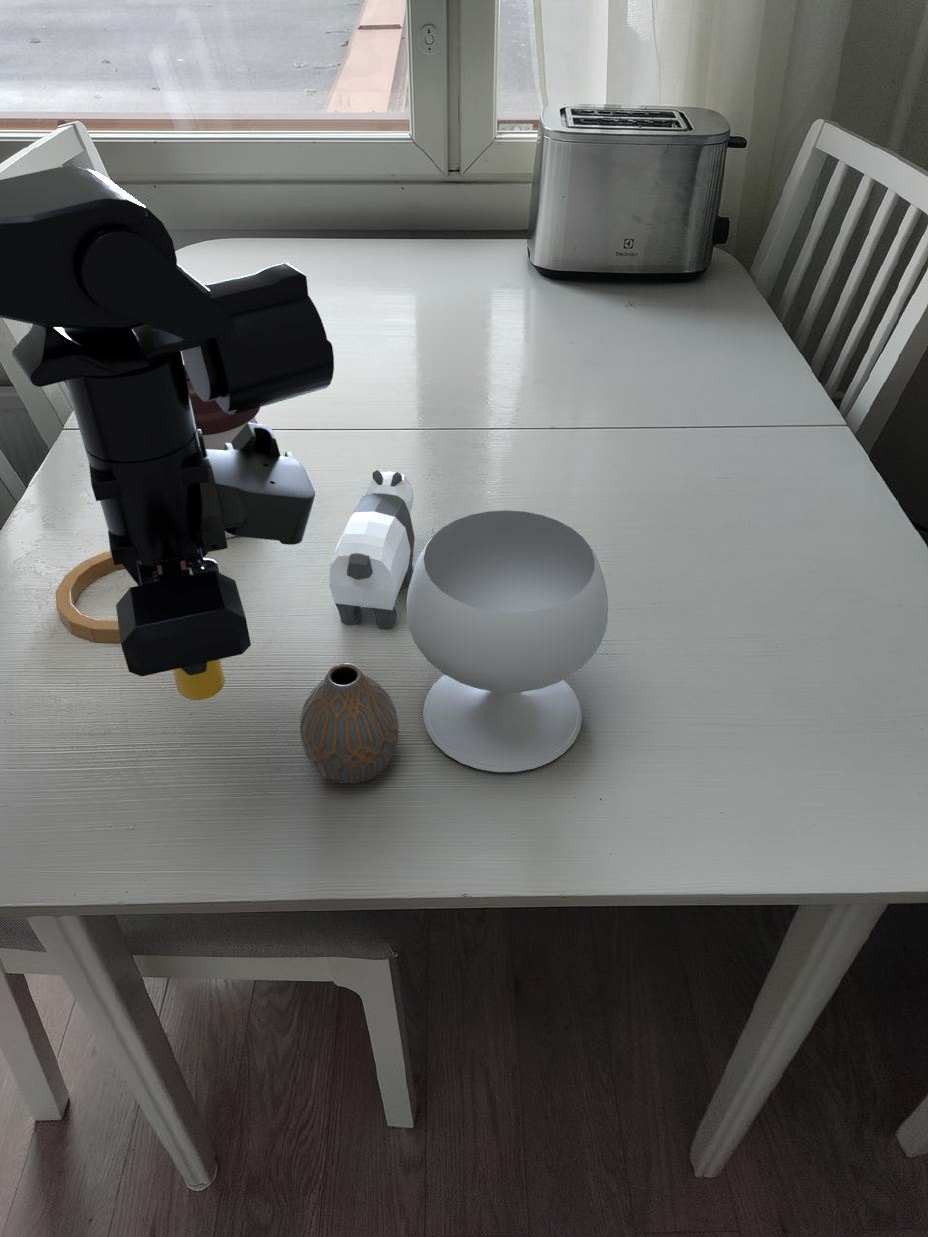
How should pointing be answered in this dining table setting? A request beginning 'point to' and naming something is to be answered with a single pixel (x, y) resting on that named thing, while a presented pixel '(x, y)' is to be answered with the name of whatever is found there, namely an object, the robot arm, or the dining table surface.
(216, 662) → the pencil stub
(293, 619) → the dining table surface
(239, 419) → the coffee cup
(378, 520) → the giant panda
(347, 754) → the vase
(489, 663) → the chalice
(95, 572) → the wooden ring
